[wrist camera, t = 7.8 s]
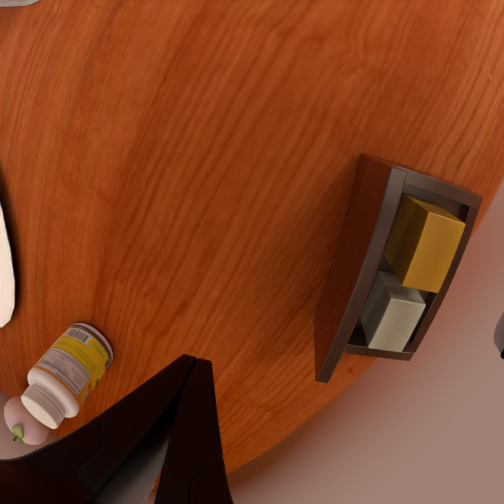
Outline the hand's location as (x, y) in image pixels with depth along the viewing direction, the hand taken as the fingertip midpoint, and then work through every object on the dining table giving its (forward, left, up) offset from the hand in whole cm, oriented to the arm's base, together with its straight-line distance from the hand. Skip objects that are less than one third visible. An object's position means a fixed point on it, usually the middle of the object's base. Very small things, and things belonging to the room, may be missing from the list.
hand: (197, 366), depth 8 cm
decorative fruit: (+30, +36, -12) cm, 48 cm away
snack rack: (-9, 0, -12) cm, 15 cm away
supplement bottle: (+14, +15, -12) cm, 24 cm away
